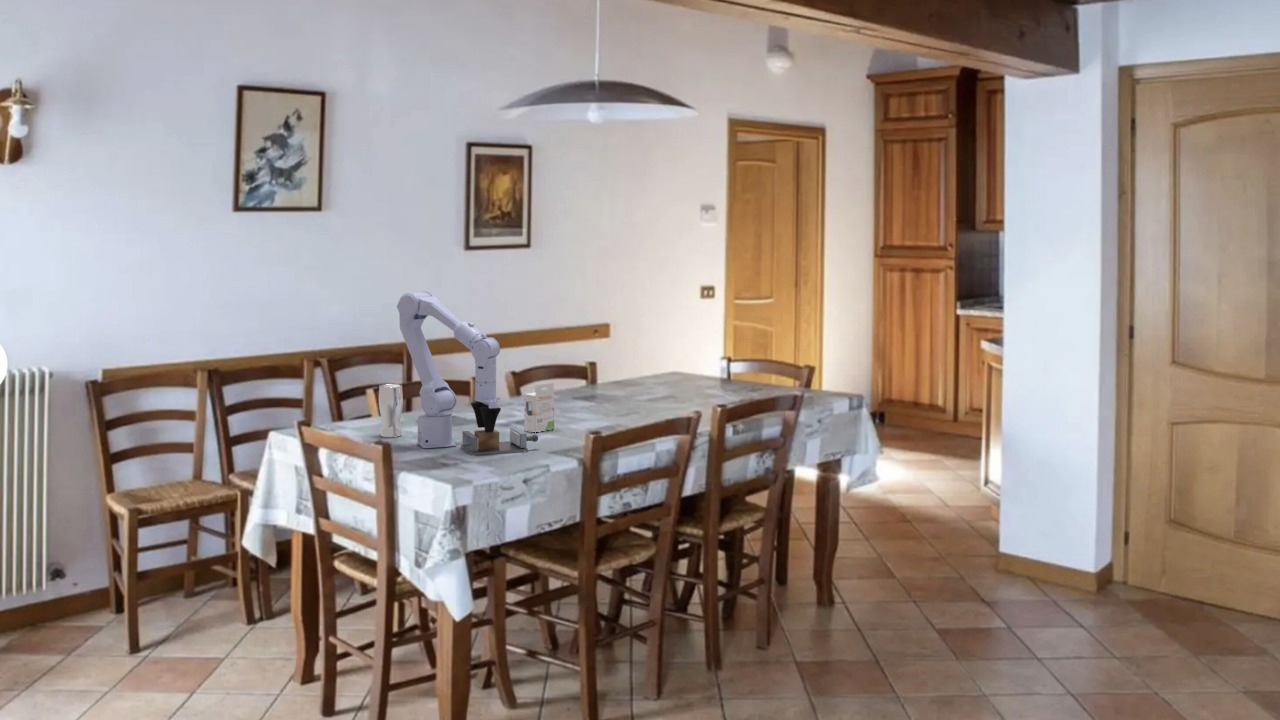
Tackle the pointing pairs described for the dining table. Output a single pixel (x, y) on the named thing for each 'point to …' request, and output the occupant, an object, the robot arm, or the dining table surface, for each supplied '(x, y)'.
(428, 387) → the robot arm
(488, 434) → the block
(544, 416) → the ink box
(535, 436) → the slide jaw
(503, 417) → the dining table surface
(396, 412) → the beer glass
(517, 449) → the vise
